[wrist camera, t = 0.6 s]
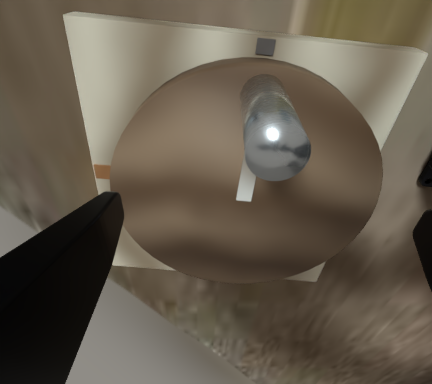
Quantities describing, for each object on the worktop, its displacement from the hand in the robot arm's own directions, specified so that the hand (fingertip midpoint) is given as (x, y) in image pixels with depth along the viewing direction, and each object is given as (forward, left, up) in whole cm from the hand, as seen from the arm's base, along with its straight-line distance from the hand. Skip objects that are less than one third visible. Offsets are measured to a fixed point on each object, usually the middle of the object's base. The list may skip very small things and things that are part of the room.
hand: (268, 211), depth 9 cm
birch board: (0, +8, -13) cm, 15 cm away
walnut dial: (-1, +7, -11) cm, 13 cm away
